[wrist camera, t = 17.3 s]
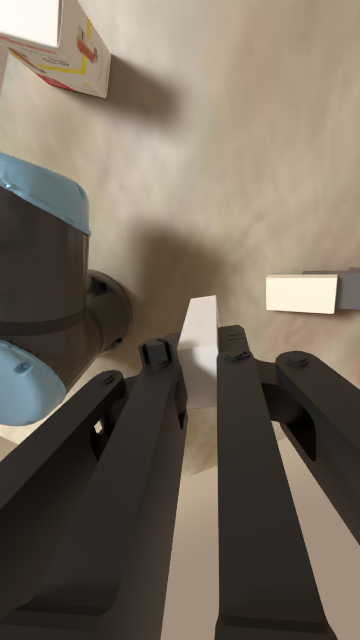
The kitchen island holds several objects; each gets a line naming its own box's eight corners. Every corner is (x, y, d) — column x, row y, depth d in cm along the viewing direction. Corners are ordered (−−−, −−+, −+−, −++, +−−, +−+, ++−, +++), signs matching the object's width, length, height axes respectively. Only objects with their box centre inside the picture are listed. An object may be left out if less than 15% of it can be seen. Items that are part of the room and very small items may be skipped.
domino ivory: (266, 309, 41) (333, 313, 36) (266, 277, 39) (337, 277, 34) (269, 305, 42) (334, 308, 38) (269, 274, 40) (337, 274, 36)
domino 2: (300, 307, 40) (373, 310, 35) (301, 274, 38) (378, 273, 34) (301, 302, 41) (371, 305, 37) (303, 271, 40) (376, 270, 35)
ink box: (45, 84, 35) (-32, 24, 24) (47, 36, 33) (-35, -54, 22) (107, 101, 35) (58, 48, 24) (113, 53, 33) (62, -28, 22)
